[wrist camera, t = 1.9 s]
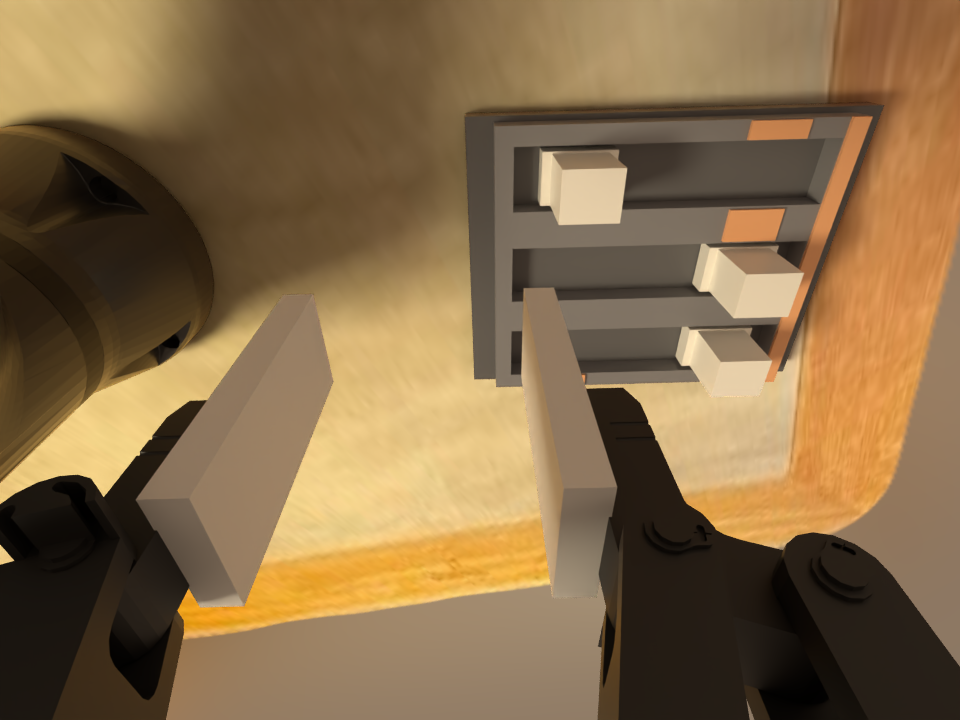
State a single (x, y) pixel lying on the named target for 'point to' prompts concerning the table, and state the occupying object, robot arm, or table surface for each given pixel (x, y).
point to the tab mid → (748, 278)
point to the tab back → (724, 359)
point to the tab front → (582, 184)
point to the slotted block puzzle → (652, 226)
